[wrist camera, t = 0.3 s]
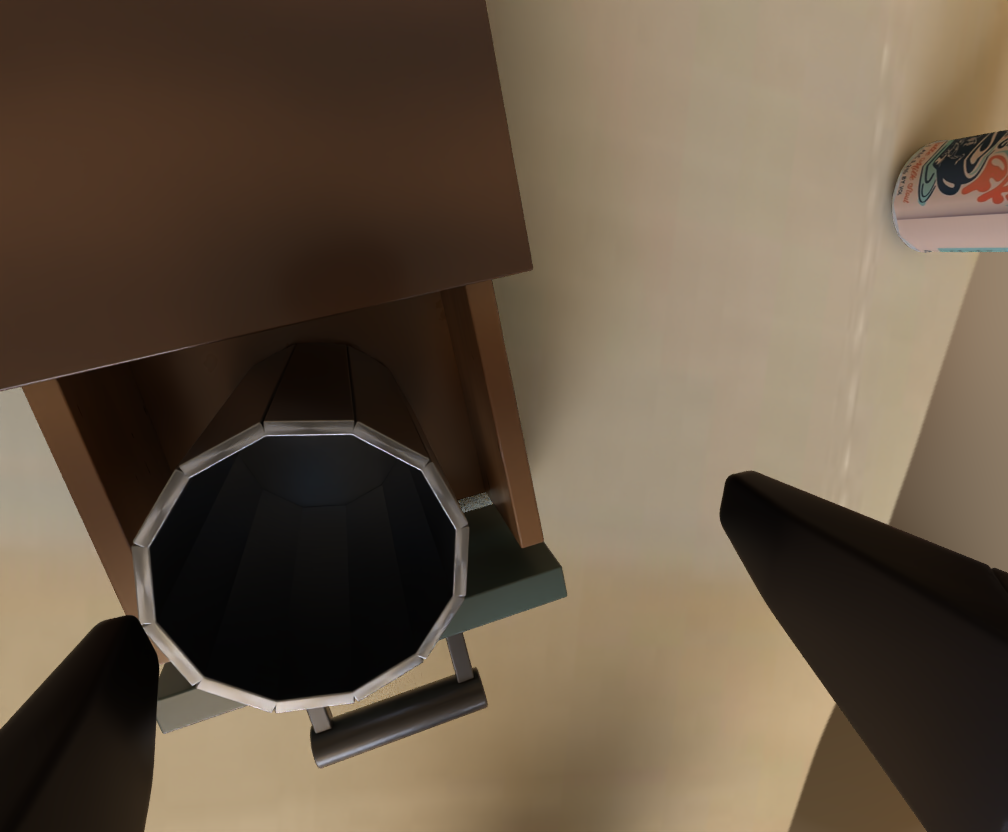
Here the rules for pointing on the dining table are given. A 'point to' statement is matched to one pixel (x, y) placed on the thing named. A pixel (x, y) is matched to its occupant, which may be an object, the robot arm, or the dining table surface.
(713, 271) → the dining table surface
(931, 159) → the beer can
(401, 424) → the tapered cup
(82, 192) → the cabinet
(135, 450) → the drawer
